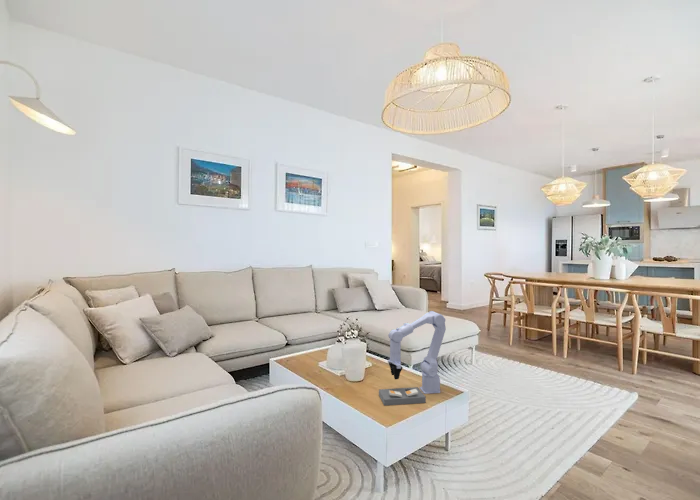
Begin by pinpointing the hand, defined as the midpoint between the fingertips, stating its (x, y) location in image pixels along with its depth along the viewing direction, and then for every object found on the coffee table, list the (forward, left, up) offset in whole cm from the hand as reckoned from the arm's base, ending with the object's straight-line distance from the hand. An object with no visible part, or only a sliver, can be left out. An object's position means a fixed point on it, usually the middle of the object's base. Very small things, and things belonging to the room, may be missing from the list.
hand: (395, 376), depth 185 cm
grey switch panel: (-2, +6, -9) cm, 11 cm away
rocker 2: (-6, +9, -6) cm, 12 cm away
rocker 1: (+3, +9, -5) cm, 11 cm away
